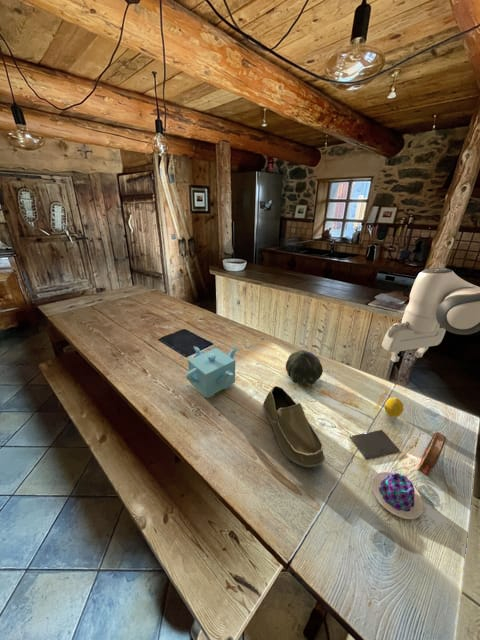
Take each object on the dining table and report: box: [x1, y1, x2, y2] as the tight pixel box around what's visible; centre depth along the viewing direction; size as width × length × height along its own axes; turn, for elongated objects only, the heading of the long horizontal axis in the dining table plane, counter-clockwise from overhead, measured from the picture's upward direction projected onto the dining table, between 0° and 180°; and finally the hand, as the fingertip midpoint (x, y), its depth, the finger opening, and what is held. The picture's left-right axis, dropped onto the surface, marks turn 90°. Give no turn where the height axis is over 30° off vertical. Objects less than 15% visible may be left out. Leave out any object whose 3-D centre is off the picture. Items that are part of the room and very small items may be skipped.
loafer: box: [262, 385, 326, 468], centre depth 85 cm, size 11×30×10 cm, turn 23°
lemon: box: [384, 397, 404, 418], centre depth 93 cm, size 6×6×8 cm
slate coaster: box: [349, 429, 401, 460], centre depth 84 cm, size 12×8×1 cm, turn 103°
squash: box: [285, 349, 324, 386], centre depth 110 cm, size 14×15×15 cm
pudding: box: [371, 471, 424, 520], centre depth 69 cm, size 12×12×5 cm
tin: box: [416, 430, 447, 477], centre depth 77 cm, size 15×3×8 cm, turn 134°
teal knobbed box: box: [185, 345, 239, 398], centre depth 105 cm, size 19×19×15 cm
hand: (406, 358), depth 87 cm, fingers open, 8 cm apart
